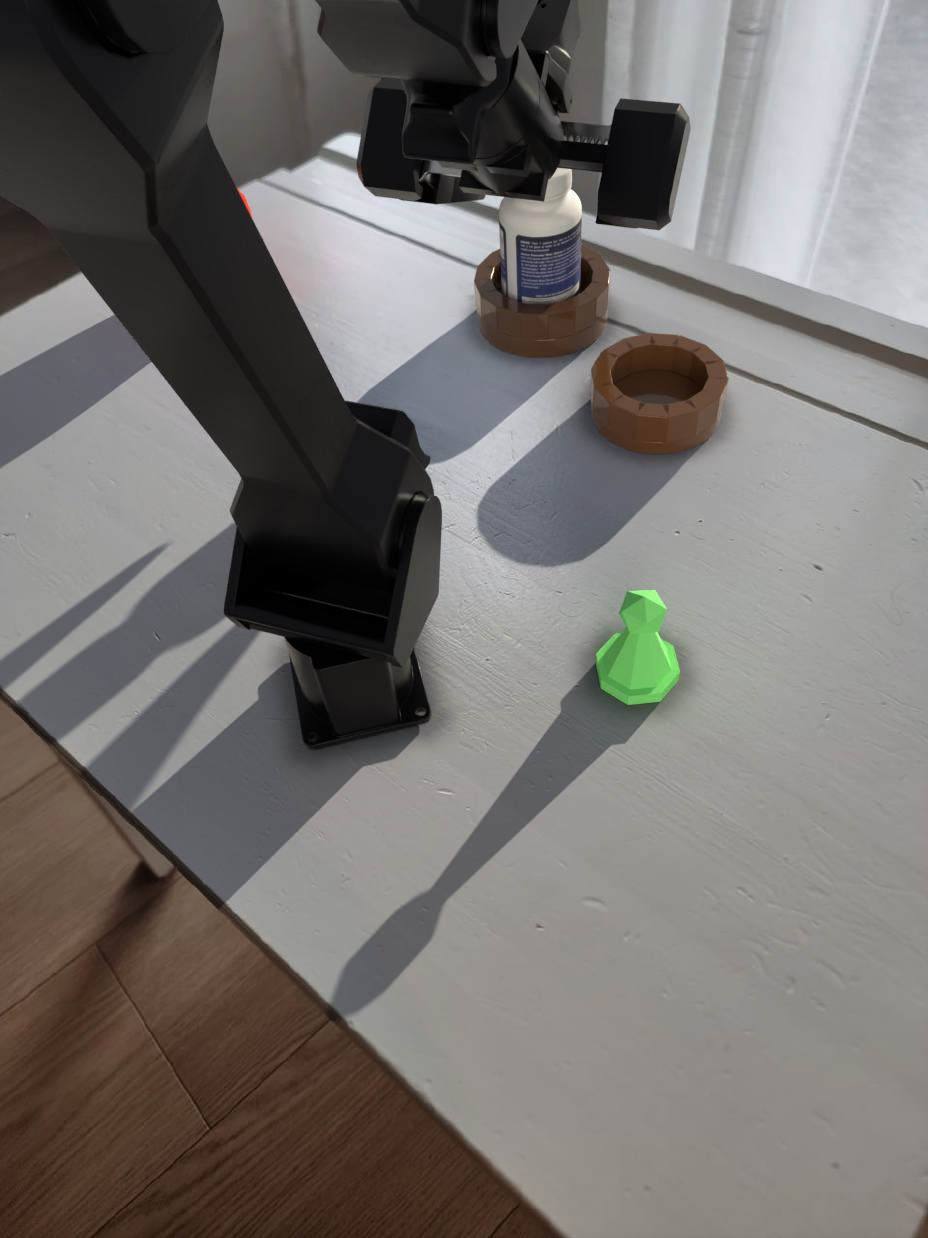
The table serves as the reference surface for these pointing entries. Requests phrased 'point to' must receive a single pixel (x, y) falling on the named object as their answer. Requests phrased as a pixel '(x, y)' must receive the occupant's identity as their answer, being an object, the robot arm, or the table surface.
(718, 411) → the small stand
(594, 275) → the stand
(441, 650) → the table surface
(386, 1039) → the table surface
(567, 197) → the pill bottle
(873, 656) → the table surface
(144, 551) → the table surface
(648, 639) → the game piece
